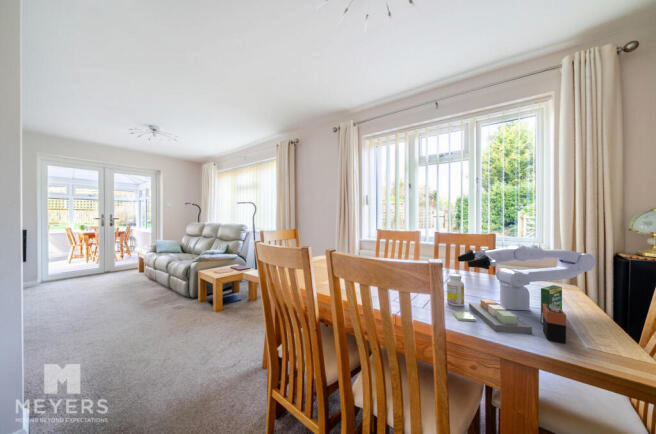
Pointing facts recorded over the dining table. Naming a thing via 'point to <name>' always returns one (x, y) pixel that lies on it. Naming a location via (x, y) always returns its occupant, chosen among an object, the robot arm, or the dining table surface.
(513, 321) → the sage button
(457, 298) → the supplement bottle
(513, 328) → the button board
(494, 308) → the cream button
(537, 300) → the dining table surface
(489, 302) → the terracotta button
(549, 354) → the dining table surface
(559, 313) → the battery
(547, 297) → the coffee box
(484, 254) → the robot arm
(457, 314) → the tile
